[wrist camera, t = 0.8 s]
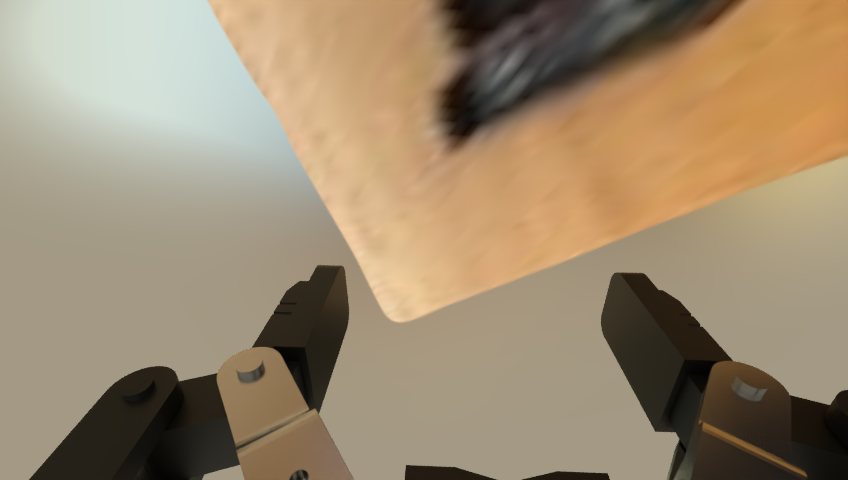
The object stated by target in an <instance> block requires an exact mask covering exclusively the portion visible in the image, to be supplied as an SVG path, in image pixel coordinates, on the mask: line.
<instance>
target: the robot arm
mask: <svg viewBox="0 0 848 480" xmlns="http://www.w3.org/2000/svg"><path fill="white" fill-rule="evenodd" d="M348 320H349V304H348V295H347V286H346V277H345V270H344V267H343V266H330V265H329V266H328V265H327V266H326V265H318V266H317V267H316V269H315V271H314V273H313V275H312V276H311V278H310V280H309V281H299V282H298V283H297V284H295V285H294V286H292V287H291V288H290V289H289V290H287V291H286V293H285V295H284V296H283V298H282V299H281V301H280V305H278V306H277V308H276V309H275V311H274V314H273V315H272V316H271V317H270V319H269V321H268V322H267V324H266V326H265V327H264V329H263V331H262V332H261V334H260V335H259V337H258V339H257V340H256V342H255V344H254V345H253V347H252V348H250V349H246V350H243V351H241V352H239V353H237V354H235V355H233V356H232V357H230V358H229V359H228V360H227V361H226V362H224V364H223V365H222V366H221V368H220V369H219V371H218V373H216V374H212V375H208V376H203V377H198V378H193V379H189V380H184V381H179V380H178V377H177V375H176V373H175V372H174V371H173V370H172V369H170V368H168V367H164V366H155V367H148V368H144V369H141V370H138V371H135V372H133V373H131V374H129V375H127V376H125V377H124V378H121V379H120V380H119V381H117V382H116V383H114V384H113V385H112V386H111V387H110V388H109V389H108V390H107V391H106V392H105V393H104V394H103V395H102V397H101V398H100V399H99V400H98V401H97V402H96V404H95V405H94V406H93V407H92V408H91V409H90V410H89V412H88V413H87V414H86V415H85V416H84V417H83V419H82V420H81V421H80V422H79V423H78V424H77V425H76V427H75V428H74V429H73V430H72V431H71V432H70V433H69V435H68V436H67V437H66V438H65V439H64V440H63V441H62V443H61V444H60V445H59V446H58V447H57V448H56V450H55V451H54V452H53V453H52V454H51V455H50V456H49V457H48V459H47V460H46V461H45V462H44V463H43V464H42V466H41V467H40V468H39V469H38V470H37V471H36V473H35V474H34V475H33V476H32V477H31V478H30V479H29V480H202V478H203V476H204V474H207V473H211V472H215V471H218V470H222V469H226V468H229V467H233V466H237V465H241V469H242V472H243V476H244V479H245V480H354V479H353V476H352V475H351V473H350V471H349V469H348V467H347V465H346V464H345V462H344V460H343V458H342V456H341V454H340V452H339V450H338V449H337V447H336V445H335V443H334V441H333V439H332V438H331V436H330V434H329V432H328V430H327V428H326V427H325V425H324V423H323V421H322V419H321V417H320V415H319V412H320V409H321V406H322V403H323V400H324V397H325V394H326V391H327V388H328V385H329V382H330V378H331V375H332V372H333V369H334V366H335V363H336V360H337V357H338V354H339V351H340V348H341V345H342V341H343V339H344V336H345V332H346V330H347V326H348ZM601 326H602V332H603V335H604V337H605V339H606V341H607V343H608V344H609V346H610V348H611V350H612V352H613V353H614V356H615V357H616V359H617V361H618V363H619V365H620V367H621V369H622V370H623V372H624V374H625V376H626V378H627V380H628V381H629V383H630V385H631V387H632V389H633V391H634V393H635V394H636V396H637V398H638V400H639V402H640V404H641V406H642V408H643V409H644V411H645V413H646V415H647V417H648V419H649V421H650V422H651V424H652V426H653V428H654V430H655V431H656V432H676V434H677V436H678V437H679V441H678V444H677V446H676V448H675V451H674V455H673V459H672V462H671V465H670V469H669V472H668V476H667V480H848V390H844V391H841V392H839V393H838V394H837V396H836V397H835V399H834V400H833V402H832V403H831V405H827V404H822V403H818V402H815V401H810V400H807V399H802V398H799V397H795V396H791V395H789V393H788V392H787V390H786V389H785V387H784V386H783V385H782V384H781V383H779V382H778V381H777V380H776V379H775V378H773V377H772V376H770V375H769V374H767V373H765V372H764V371H762V370H760V369H758V368H755V367H753V366H750V365H747V364H744V363H740V362H734V361H733V360H732V359H731V358H730V357H729V356H728V355H727V354H726V352H724V350H723V349H722V348H721V347H720V346H719V345H718V344H717V342H716V341H715V340H714V339H713V338H712V337H711V336H710V335H709V333H708V332H707V331H706V330H705V329H704V328H703V327H700V324H699V322H698V321H697V320H696V319H695V318H694V317H693V316H691V313H690V312H689V311H688V310H687V309H686V308H685V307H684V306H683V305H682V303H681V302H680V301H678V300H677V299H675V298H674V297H672V296H671V295H669V294H668V293H666V292H664V291H663V290H658V289H657V288H656V287H655V285H654V284H653V283H652V282H651V281H650V279H649V278H648V277H647V276H646V275H645V274H643V273H614V274H613V276H612V278H611V281H610V285H609V289H608V292H607V296H606V300H605V304H604V308H603V312H602V316H601ZM405 480H496V479H493V478H489V477H486V476H482V475H479V474H476V473H472V472H469V471H466V470H462V469H459V468H456V467H435V466H411V465H406V471H405ZM523 480H610V479H609V476H608V474H607V473H584V472H560V471H557V472H553V473H548V474H544V475H540V476H536V477H532V478H527V479H523Z"/></svg>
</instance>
